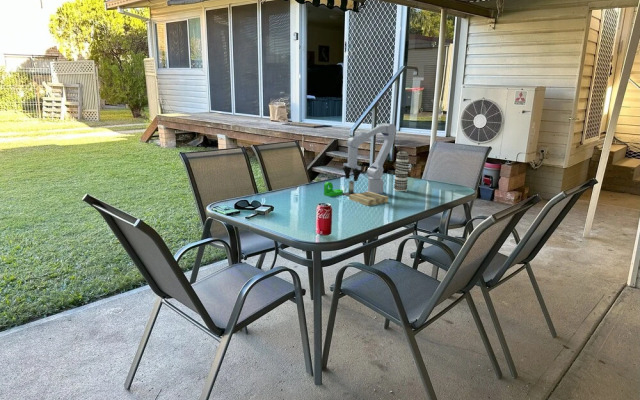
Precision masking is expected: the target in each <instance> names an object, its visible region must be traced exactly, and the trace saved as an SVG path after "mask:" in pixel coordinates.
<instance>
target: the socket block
mask: <svg viewBox="0 0 640 400" xmlns="http://www.w3.org/2000/svg"><path fill="white" fill-rule="evenodd" d="M356 193H357V192H356ZM348 199H349V200H350V201H353V202H355V203H358V204H361V205H364V206H374V205H380V204H385V203H388V202H389V196H386V195H383V194H381V193H378V194H376V193H373V192H365V191H364V192H358V193H357V194H351V195H349V197H348Z"/></svg>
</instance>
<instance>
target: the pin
mask: <svg viewBox="0 0 640 400" xmlns="http://www.w3.org/2000/svg"><path fill="white" fill-rule="evenodd" d="M354 187H355V181H354V180H349V181H348V192H349V195H351V194H354V192H355V190H354V189H355V188H354Z"/></svg>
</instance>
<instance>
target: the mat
mask: <svg viewBox="0 0 640 400" xmlns="http://www.w3.org/2000/svg"><path fill="white" fill-rule="evenodd" d="M354 194H357V192H355V191H354ZM342 195H343V196H346V197H348V198H349V191H348V192H343V194H342Z"/></svg>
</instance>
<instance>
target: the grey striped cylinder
mask: <svg viewBox="0 0 640 400" xmlns="http://www.w3.org/2000/svg"><path fill="white" fill-rule="evenodd" d="M409 158H410V154H409V153H408V152H407V151H403V150H402V151H398V152H397V153H396V160H395V161H394V162H395V165H394V166H395V167H394V169H395V170H394V173H395V176H394V185H393V190H394V191H395V190H396V191H395V192H399V191H405V192H407V191H406V190H408V181H409V180H408V179H409V178H408V174H409V170H410V168H409V166H410V159H409Z"/></svg>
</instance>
